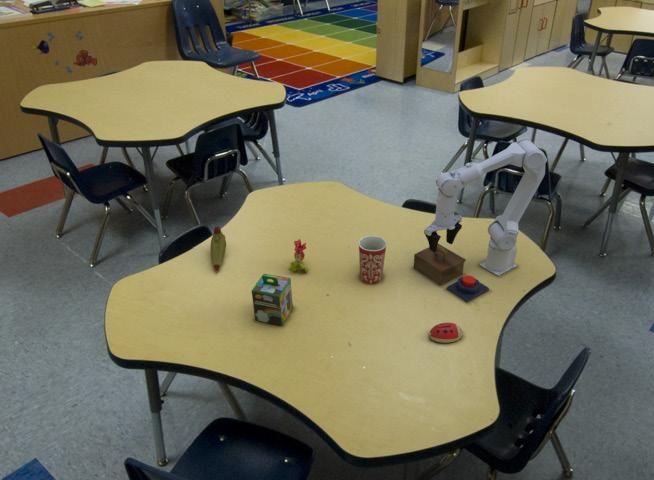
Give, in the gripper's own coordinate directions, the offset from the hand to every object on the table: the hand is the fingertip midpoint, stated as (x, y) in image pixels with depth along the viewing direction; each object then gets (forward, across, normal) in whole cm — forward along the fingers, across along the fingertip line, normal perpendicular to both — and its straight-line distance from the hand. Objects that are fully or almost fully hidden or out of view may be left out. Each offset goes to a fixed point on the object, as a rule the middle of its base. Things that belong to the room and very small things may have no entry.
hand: (441, 246), depth 189 cm
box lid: (+4, 0, 0) cm, 4 cm away
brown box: (+10, 0, 0) cm, 10 cm away
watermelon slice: (+10, -22, -24) cm, 34 cm away
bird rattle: (+10, -36, +30) cm, 48 cm away
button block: (+10, 0, -13) cm, 16 cm away
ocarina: (+10, -55, +52) cm, 76 cm away
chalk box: (+10, -56, +14) cm, 58 cm away
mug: (+10, -19, +12) cm, 24 cm away
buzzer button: (+7, 0, -13) cm, 15 cm away
